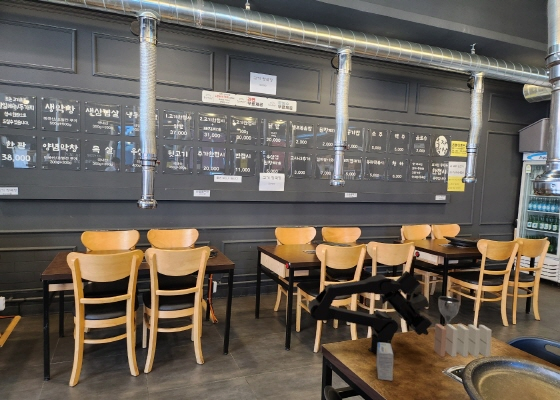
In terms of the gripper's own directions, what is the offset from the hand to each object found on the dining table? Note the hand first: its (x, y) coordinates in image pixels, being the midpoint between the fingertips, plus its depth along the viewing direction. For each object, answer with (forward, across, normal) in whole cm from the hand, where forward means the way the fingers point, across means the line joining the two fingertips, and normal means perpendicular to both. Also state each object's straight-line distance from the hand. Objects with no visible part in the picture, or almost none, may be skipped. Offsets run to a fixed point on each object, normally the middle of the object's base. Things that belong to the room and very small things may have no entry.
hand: (427, 333), depth 130 cm
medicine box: (-10, -15, +20) cm, 27 cm away
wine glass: (+17, +17, -7) cm, 25 cm away
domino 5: (+20, 0, -10) cm, 23 cm away
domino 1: (+9, 0, +2) cm, 9 cm away
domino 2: (+12, 0, -1) cm, 12 cm away
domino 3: (+14, 0, -4) cm, 15 cm away
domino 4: (+18, 0, -7) cm, 19 cm away
